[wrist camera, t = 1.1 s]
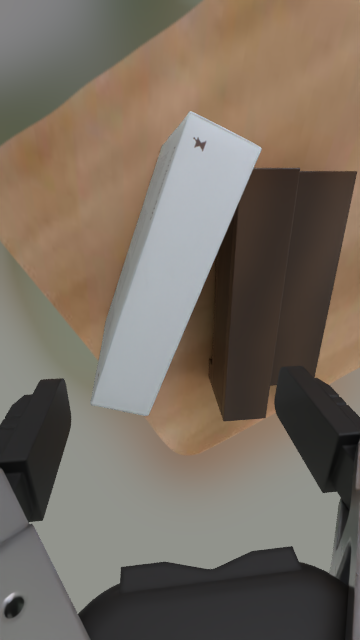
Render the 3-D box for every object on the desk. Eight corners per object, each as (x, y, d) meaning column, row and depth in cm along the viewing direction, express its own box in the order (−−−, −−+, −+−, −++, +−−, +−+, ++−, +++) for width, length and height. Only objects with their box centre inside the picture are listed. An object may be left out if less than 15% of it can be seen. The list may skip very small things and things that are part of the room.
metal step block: (340, 172, 34) (402, 168, 26) (303, 370, 44) (339, 412, 36) (216, 172, 32) (240, 167, 24) (208, 376, 43) (223, 421, 35)
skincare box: (146, 334, 39) (147, 420, 25) (105, 321, 38) (81, 405, 23) (211, 164, 32) (266, 146, 18) (163, 142, 31) (179, 102, 16)
